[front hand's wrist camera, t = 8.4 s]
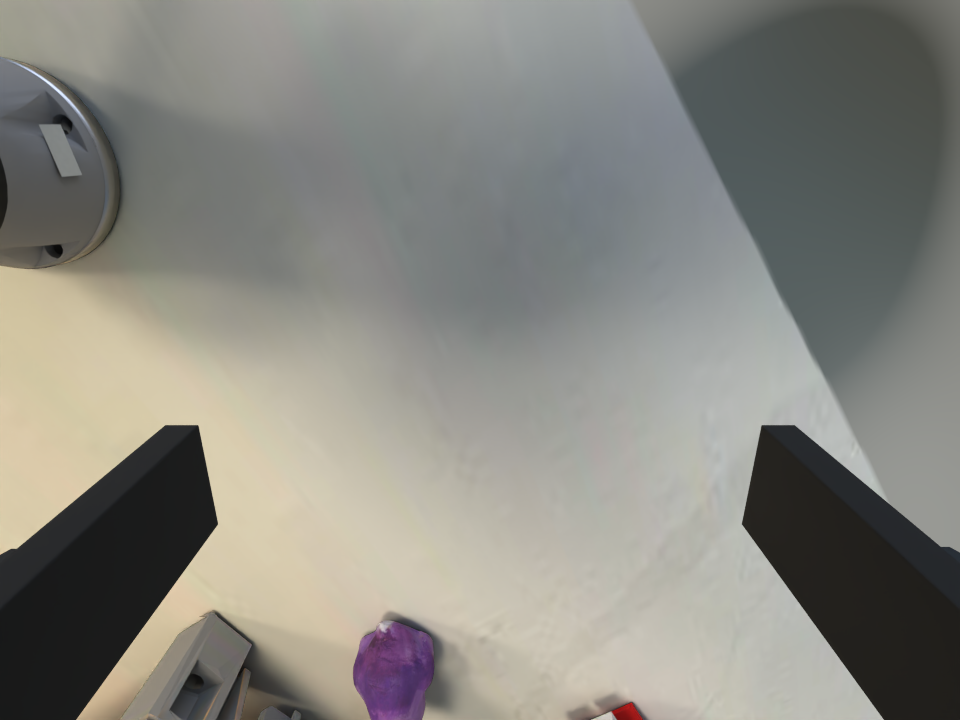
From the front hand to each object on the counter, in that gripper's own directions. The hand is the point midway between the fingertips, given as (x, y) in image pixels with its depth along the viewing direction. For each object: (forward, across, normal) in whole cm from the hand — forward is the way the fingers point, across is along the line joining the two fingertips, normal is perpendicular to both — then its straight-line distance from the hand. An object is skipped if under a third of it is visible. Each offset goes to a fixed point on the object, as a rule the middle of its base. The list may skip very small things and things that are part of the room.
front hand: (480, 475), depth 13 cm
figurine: (+34, +8, +44) cm, 56 cm away
